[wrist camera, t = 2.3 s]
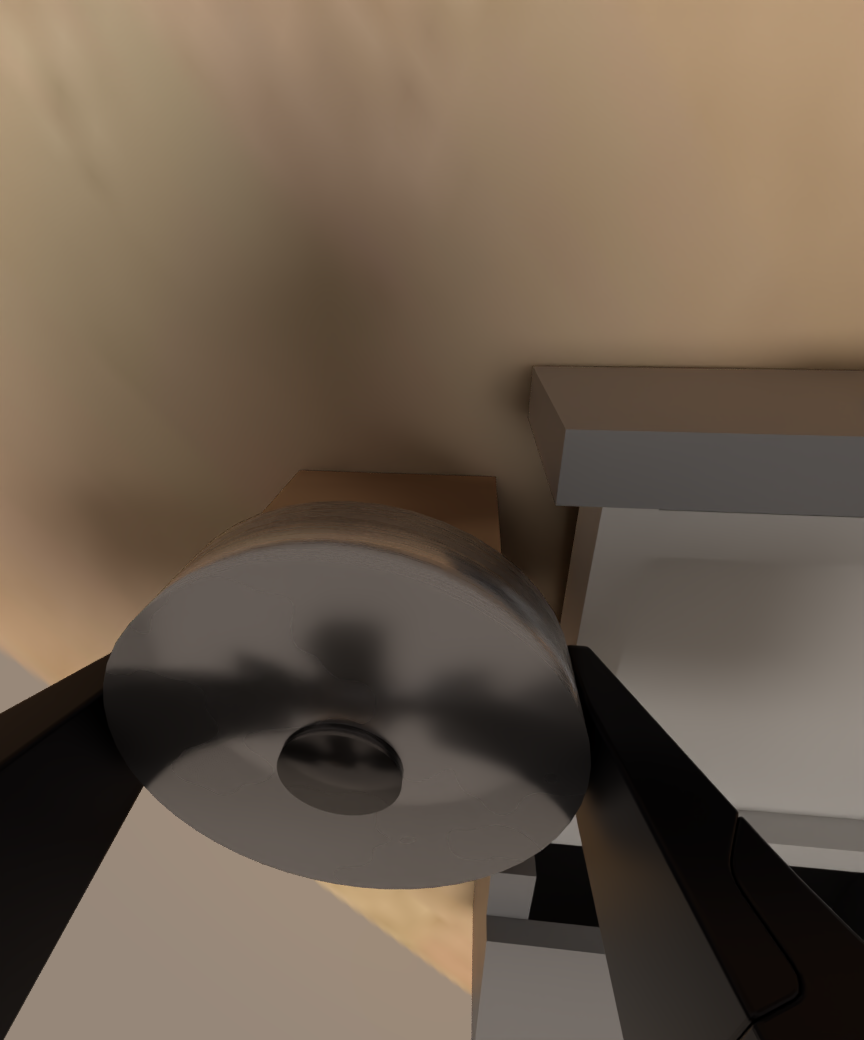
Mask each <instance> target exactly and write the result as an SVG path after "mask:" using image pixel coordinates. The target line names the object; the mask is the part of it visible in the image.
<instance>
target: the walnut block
mask: <svg viewBox="0 0 864 1040" xmlns="http://www.w3.org/2000/svg"><path fill="white" fill-rule="evenodd" d="M322 501H355V502H365V503H375V504H383V505H387V506H392V507H397V508H401V509H406V510H411V511H414V512H417V513H420V514H423V515H426V516H429V517H432V518H435V519H438V520H441V521H444V522H446V523H448V524H450V525H452V526H454V527H456V528H458V529H460V530H463V531H465V532H467V533H469V534H471V535H473V536H474V537H476V538H478V539H479V540H481V541H482V542H484V543H486V544H487V545H489V546H490V547H492V548H493V549H495V550H497V551H498V552H499V553H501V543H500V529H499V515H498V501H497V487H496V477H488V476H458V475H427V474H397V473H366V472H335V471H305V470H300V471H299V472H298V473H297V474H296V475H295V476H294V477H293V479H292V480H291V481H290V482H289V483H288V484H287V485H286V486H285V488H284V489H283V490H282V491H281V492H280V493H279V494H278V495H277V497H276V498H275V499H274V500H273V501H272V502H271V503H270V504H269V506H268V507H267V508H266V509H265V510H264V511H263V512H262V513H265V512H268V511H272V510H275V509H279V508H282V507H285V506H291V505H298V504H304V503H311V502H322Z"/></svg>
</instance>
